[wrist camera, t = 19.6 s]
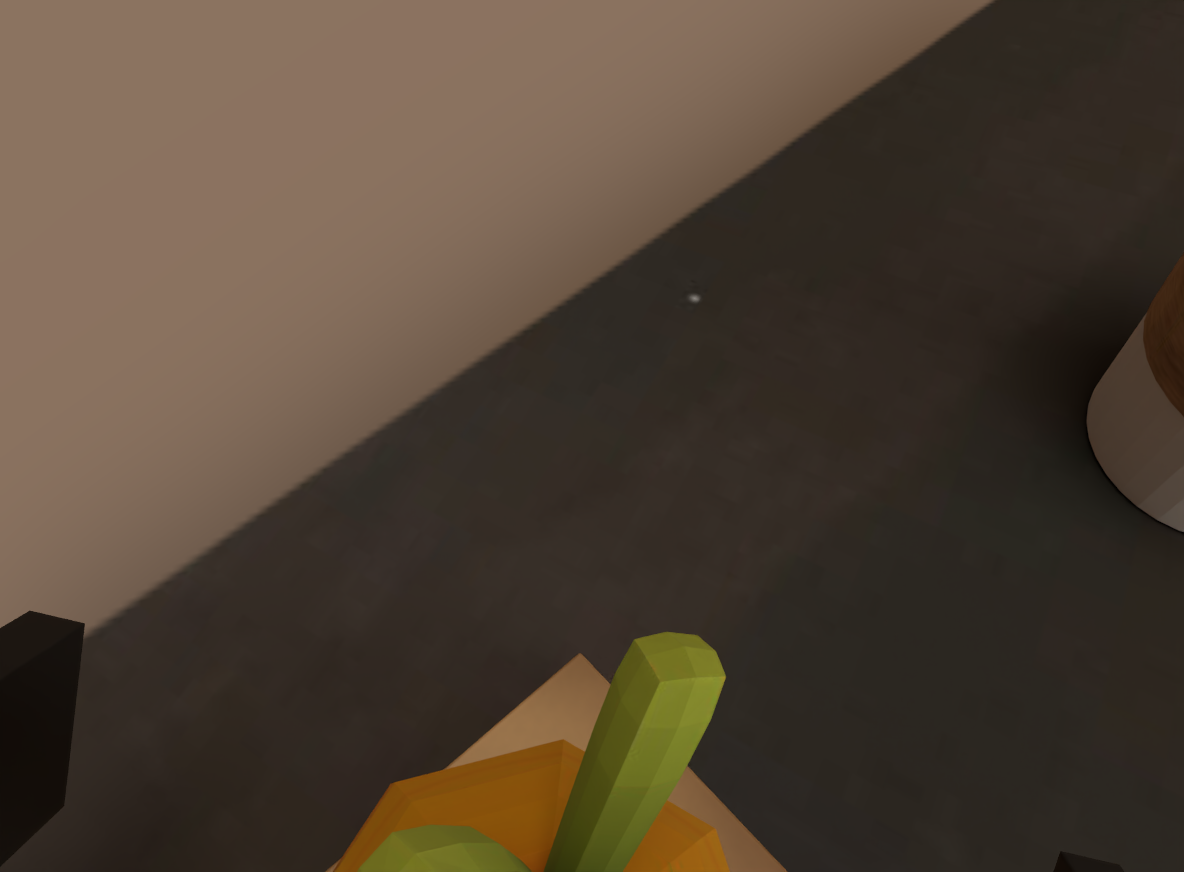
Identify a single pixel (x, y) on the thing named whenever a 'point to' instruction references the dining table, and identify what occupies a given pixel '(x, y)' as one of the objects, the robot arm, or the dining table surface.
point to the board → (571, 715)
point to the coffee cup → (1146, 409)
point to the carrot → (568, 788)
